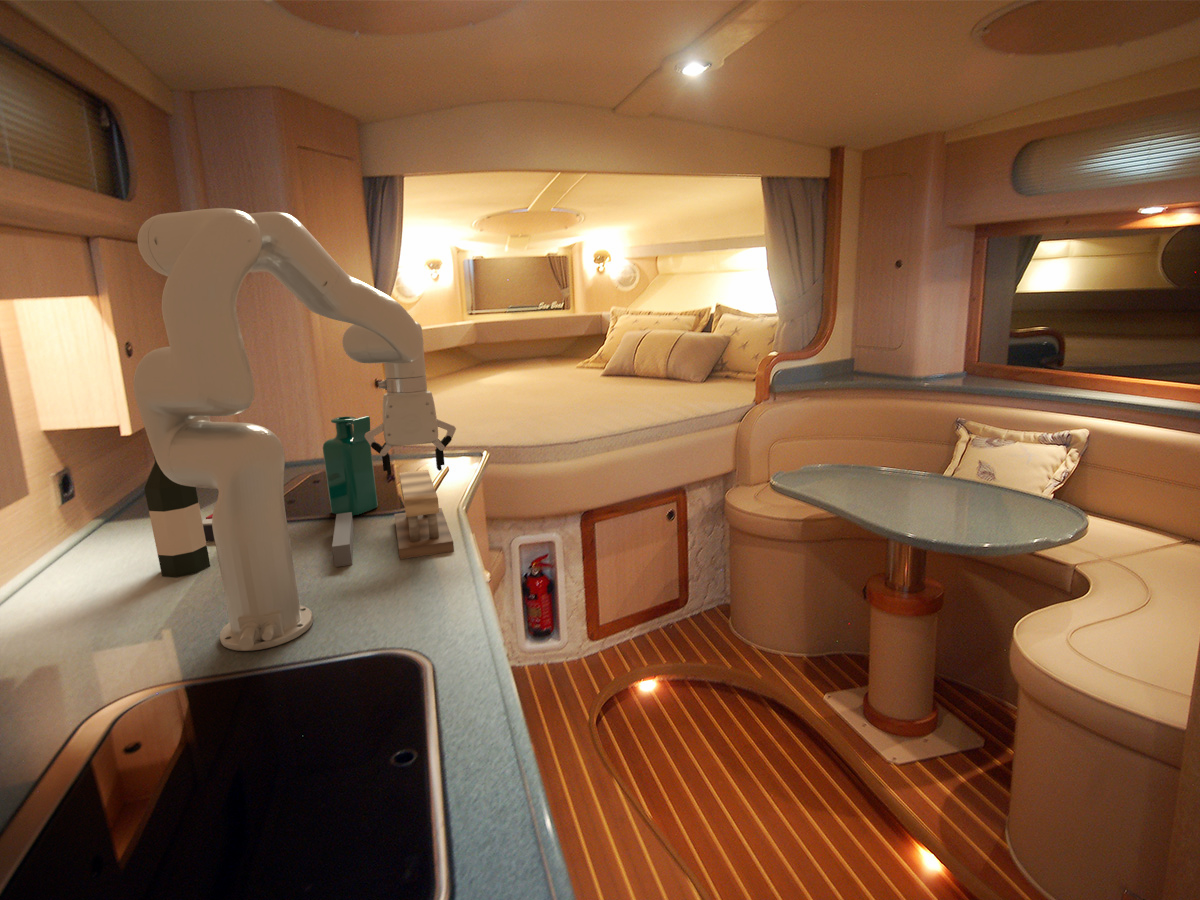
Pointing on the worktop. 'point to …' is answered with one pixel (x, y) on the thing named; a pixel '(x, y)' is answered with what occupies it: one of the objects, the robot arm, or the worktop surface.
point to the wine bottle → (176, 525)
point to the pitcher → (350, 467)
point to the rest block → (343, 539)
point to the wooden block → (418, 493)
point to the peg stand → (423, 535)
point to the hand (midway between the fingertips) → (414, 471)
